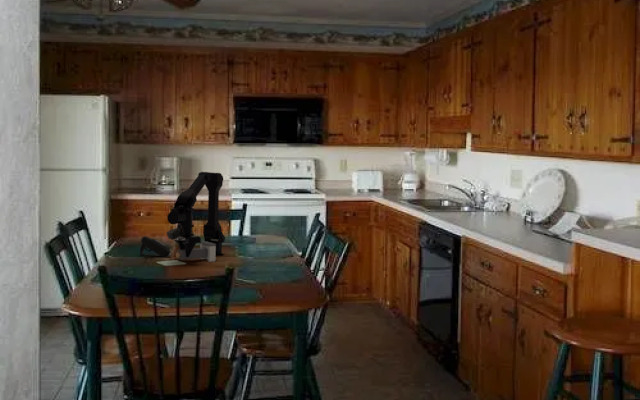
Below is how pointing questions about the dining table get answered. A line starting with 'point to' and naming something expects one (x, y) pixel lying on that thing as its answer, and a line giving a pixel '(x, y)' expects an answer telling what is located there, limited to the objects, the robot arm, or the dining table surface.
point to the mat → (170, 263)
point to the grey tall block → (192, 253)
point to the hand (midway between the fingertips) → (185, 256)
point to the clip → (209, 250)
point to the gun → (154, 247)
